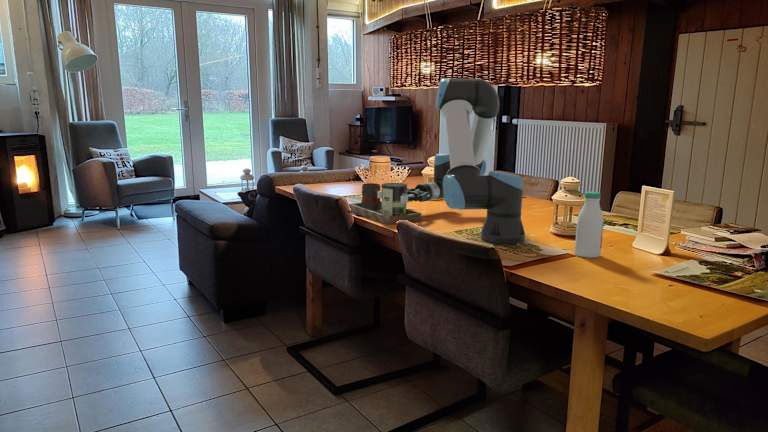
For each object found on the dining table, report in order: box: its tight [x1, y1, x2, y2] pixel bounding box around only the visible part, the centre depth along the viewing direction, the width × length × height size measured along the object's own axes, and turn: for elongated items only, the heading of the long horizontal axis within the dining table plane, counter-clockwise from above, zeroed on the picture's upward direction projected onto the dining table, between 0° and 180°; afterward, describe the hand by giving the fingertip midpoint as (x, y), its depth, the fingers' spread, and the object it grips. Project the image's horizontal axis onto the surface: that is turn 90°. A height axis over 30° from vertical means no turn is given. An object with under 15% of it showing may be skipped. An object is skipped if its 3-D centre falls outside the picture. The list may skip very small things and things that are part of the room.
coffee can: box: [380, 182, 408, 216], centre depth 223 cm, size 10×10×14 cm
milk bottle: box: [574, 190, 604, 259], centre depth 173 cm, size 8×8×20 cm
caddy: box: [348, 200, 422, 226], centre depth 231 cm, size 32×16×3 cm, turn 32°
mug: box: [360, 182, 382, 211], centre depth 237 cm, size 9×12×12 cm
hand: (389, 197), depth 221 cm, fingers open, 13 cm apart
